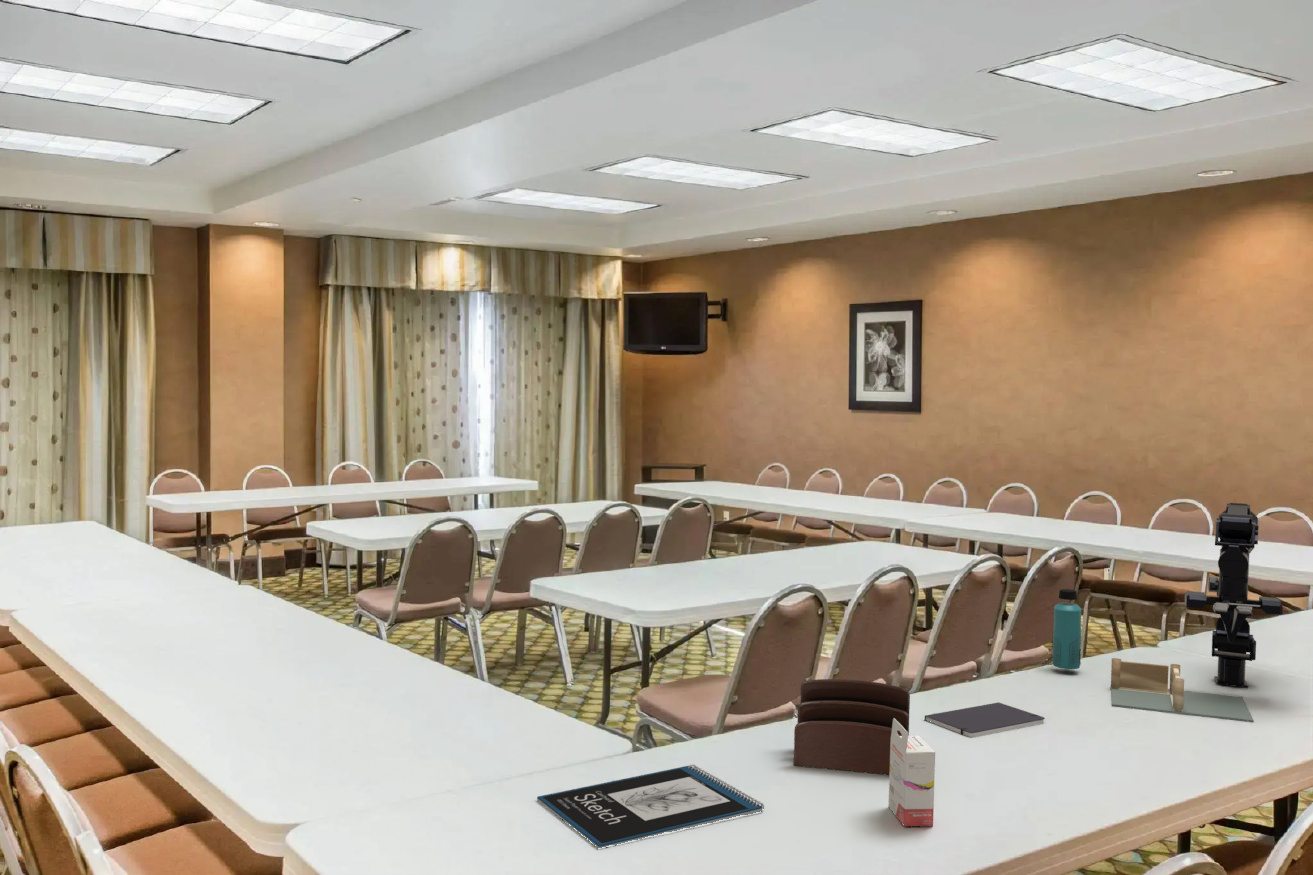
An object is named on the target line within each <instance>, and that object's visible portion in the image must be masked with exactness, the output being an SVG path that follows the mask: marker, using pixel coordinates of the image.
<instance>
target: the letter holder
mask: <svg viewBox="0 0 1313 875" xmlns="http://www.w3.org/2000/svg"><path fill="white" fill-rule="evenodd" d="M910 697H911V696H910V692H909V691H908V689H906V688H904V687H902V686H897V685H892V684H888V683H883V682H876V681H866V680H857V679H842V678H841V679H839V678H838V679H836V678H832V679H831V678H830V679H829V678H828V679H827V678H826V679H825V678H823V679H809V680H808V679H806V680H804V681H802V683H801V684H800V703H799V705H798V707H797V721H796V722H797V723H796V724H795V726H794V732H793V734H794V735H793V736H794V737H793V738H794V740H793V741H794V742H793V743H794V744H793V766H794V767H803V766H805V767H804V768H813V767H814V768H816V769H823V768H827V769H826V770H833V769H835V771H843V770H844V772H845V771H846V772H853V773H854V772H855V773H864V772H867V773H866V774H874V773H876V775H884V774H886V775H885V776H889V775H890V743H891V733H892V724H893V719H894V718H895V719H896V720H897V721H898V722H899V723H900V724H901V725H902V726H903V727H904V729H905V730H906V731H907V732H908V736H910V709H911V708H910V706H911V705H910V703H911V702H910V701H911V700H910V699H911V698H910ZM897 734H898V735H899V736H902V734H901V733H900V731H897Z"/></svg>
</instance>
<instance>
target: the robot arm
mask: <svg viewBox="0 0 1313 875" xmlns="http://www.w3.org/2000/svg"><path fill="white" fill-rule="evenodd" d="M1215 521H1216V523H1215V535H1214V536H1215V538H1214V546H1219V547H1220V549H1219V558H1218V560H1217V566H1218V570H1219V572H1218V573H1219V574H1218V576H1217V577H1216V576H1209V577H1208V585H1207V586H1208V589H1207V590H1208V592H1209V593H1216V596H1207V595H1206V593H1205V592H1204V591H1191V590H1188V591H1186V592H1185V593H1184V604H1185V607H1187V608H1194V609H1195V608H1196V609H1203V608H1204V607H1206V606H1212V610H1213V612H1214V614H1218V615H1220V616H1219V617H1218V619H1217V621H1216V624H1215V630H1212V636H1211V657H1215V658H1217V675H1214V677H1213V678H1214V681H1215V683H1216V685H1220V686H1230V687H1238V688H1239V687H1241V688H1249V684H1248V682H1247V680H1246V663H1247V662H1246V661H1249V662H1253V661H1256V658H1257V657H1256V653H1257V641H1256V640H1255V638H1254V635H1253V634H1251V632H1250V631H1251V626H1250V623H1249V621H1248V620H1247V617H1253V612H1252V611H1253V609H1255V610H1256V609H1257V610H1262V612H1264V613H1265V614H1267V615H1278V616H1279V615H1283V611H1284V610H1283V609H1284V607H1283V603H1282V602H1281V600H1280V599H1279V598H1278V597H1271V596H1270V597H1268V596H1259V598H1258V599H1248V597H1249V596H1248V595H1249V594H1248V592H1249V573H1250V570H1249V569H1250V554H1251V553H1252V551H1253V550H1254V549H1255V546H1256V545H1258V544H1259V542H1258V541H1259V528H1260V527H1259V517H1258V516H1257V515H1256V514H1255V513H1254V512H1252V511H1251V504H1248V503H1240V502H1239V503H1238V502H1229V503H1226V508H1225V510H1224V511H1223V512H1221V513H1219V515H1218V517H1216V520H1215Z"/></svg>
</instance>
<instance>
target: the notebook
mask: <svg viewBox="0 0 1313 875" xmlns="http://www.w3.org/2000/svg"><path fill="white" fill-rule="evenodd" d="M1045 719H1046V718H1045V717H1044V716H1042V715H1038V714H1035V713H1032V712H1028V711H1026V710H1024V709H1019V708H1017V707H1014V706H1010V705H1007V704H1005V703H1002V702H994V703H993V702H992V703H989V704H987V703H986V704H982V705H977V706H972V707H971V706H970V707H965V708H960V709H955V710H954V709H953V710H949V711H942V712H938V713H937V712H936V713H932V714H927V715H924V721H926V720H927V721H926V722H929V721H931V722H932V724H934V723H935V724H934V725H937V726H939V725H940V726H939V727H942V726H943V727H942V728H944V727H945V729H947V730H950V729H951V730H950V731H952V730H953V732H955V733H958V734H960V735H962V736H965V735H966V736H965V737H969V738H977V737H982V736H986V735H991V734H997V733H1002V732H1006V731H1012V730H1016V729H1023V728H1027V727H1030V726H1031V727H1032V726H1036V725H1037V726H1038V725H1041V724H1044V721H1045ZM931 722H930V723H931ZM963 734H964V735H963Z"/></svg>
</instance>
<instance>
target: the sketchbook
mask: <svg viewBox="0 0 1313 875" xmlns="http://www.w3.org/2000/svg"><path fill="white" fill-rule="evenodd" d="M536 800H537V802H538V803H539V804H541V805H543V807H545V808H546V807H547V808H546V809H547V810H549V811H550V810H551V811H552V812H553V814H554V815H555V816H556V815H557V816H558V817H557V816H556V817H557V818H559V817H560V818H561V819H563V820H564V821H565V822H566V823H568V824H570V825H571V827H573V828H575V829H576V830H577V831H578V832H580V833H581V834H582V835H583V836H585V837H586V838H588V840H590V841H591V842H592V843H593V844H594V845H596V846H597V847H598V848H602V847H606V846H609V845H617V844H621V843H625V842H628V841H632V840H638V839H642V838H645V837H648V836H654V835H658V834H662V833H664V832H672V831H677V830H680V829H683V828H690V827H695V826H698V825H702V824H707V823H713V822H716V821H719V820H723V819H729V818H732V817H736V816H740V815H748V814H753V813H756V812H760V811H762V809H764V810H765V805H764V803H763V802H762V801H759V800H757V799H755V798H754V797H752V796H751V795H748V794H747V793H745V792H743V791H742V790H739V789H738V788H736V787H734V786H733V785H731V784H730V783H727V782H726V781H724V780H722V779H720V778H718V777H717V776H715V775H714V774H711V773H710V772H708V771H706V770H704V769H702V768H701V767H699V766H697V765H695V764H694V763H693V764H689V765H686V766H680V767H676V768H670V769H667V770H666V769H665V770H660V771H655V772H651V773H646V774H641V775H636V776H631V777H627V778H626V777H625V778H621V779H617V780H611V781H607V782H601V783H597V784H593V785H588V786H582V787H578V788H573V789H567V790H564V791H557V792H553V793H549V794H544V795H538V796H537V798H536ZM551 811H550V812H551ZM552 812H551V813H552ZM762 812H763V811H762ZM560 818H559V819H560ZM561 819H560V820H561ZM564 821H563V822H564ZM565 822H564V823H565ZM566 823H565V824H566ZM568 824H567V825H568ZM571 827H570V828H571ZM573 828H572V829H573ZM578 832H577V833H578ZM583 836H582V837H583ZM588 840H587V841H588ZM592 843H591V844H592ZM593 844H592V845H593ZM594 845H593V846H594ZM597 847H596V848H597ZM598 848H597V849H598Z"/></svg>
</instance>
